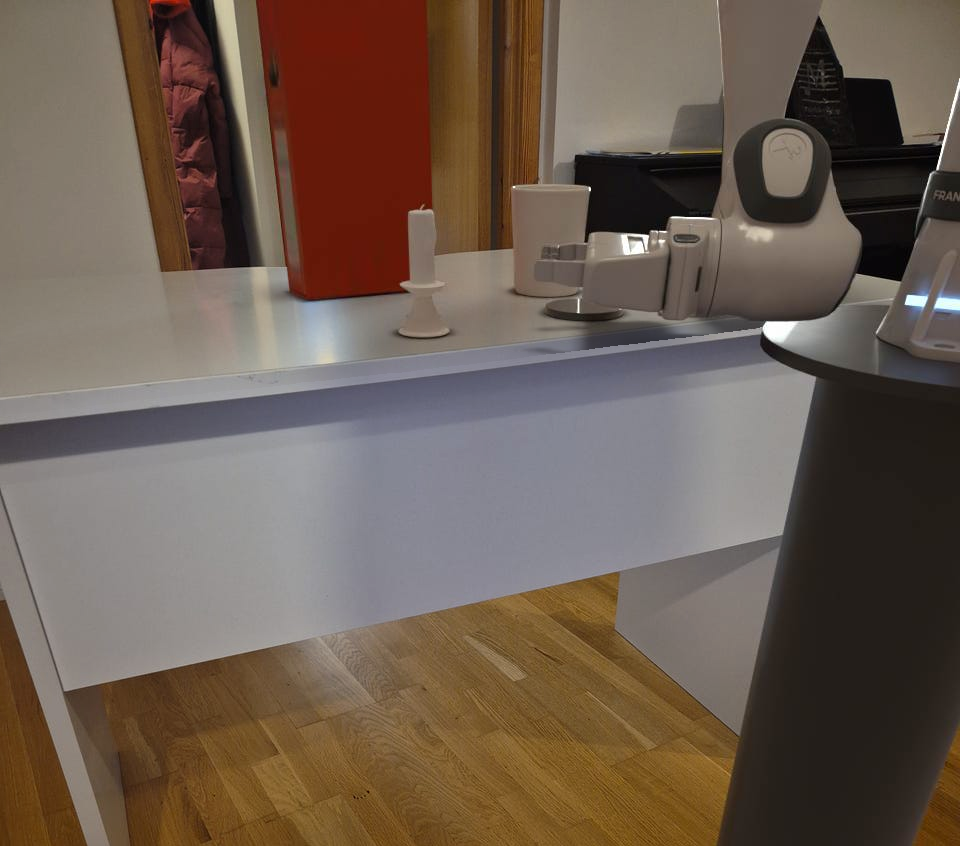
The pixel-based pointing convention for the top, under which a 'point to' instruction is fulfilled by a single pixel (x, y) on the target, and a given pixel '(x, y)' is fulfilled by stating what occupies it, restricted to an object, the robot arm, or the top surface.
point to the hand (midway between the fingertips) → (538, 261)
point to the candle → (422, 277)
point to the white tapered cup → (545, 230)
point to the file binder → (347, 138)
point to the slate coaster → (580, 310)
